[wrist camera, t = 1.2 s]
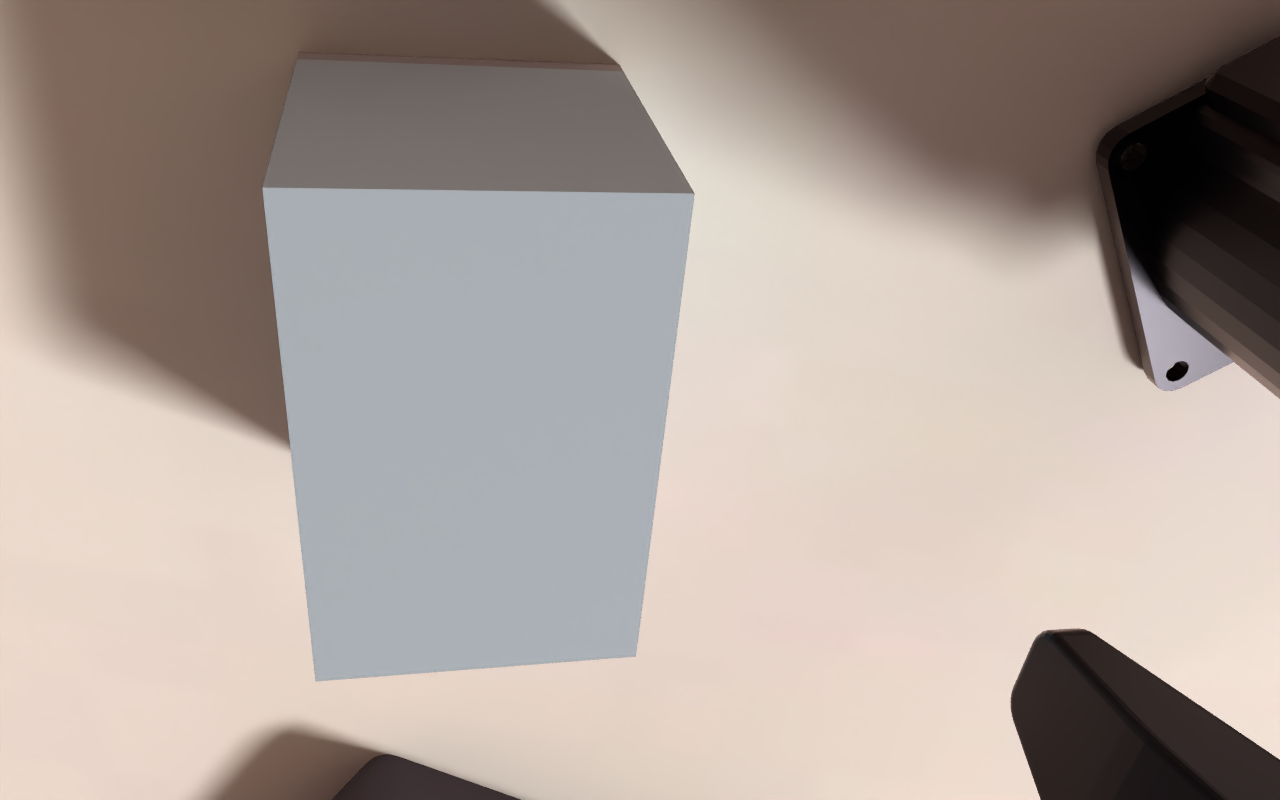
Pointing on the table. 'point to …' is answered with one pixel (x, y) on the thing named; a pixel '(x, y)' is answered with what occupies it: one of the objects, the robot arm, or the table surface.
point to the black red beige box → (411, 783)
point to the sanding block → (473, 355)
